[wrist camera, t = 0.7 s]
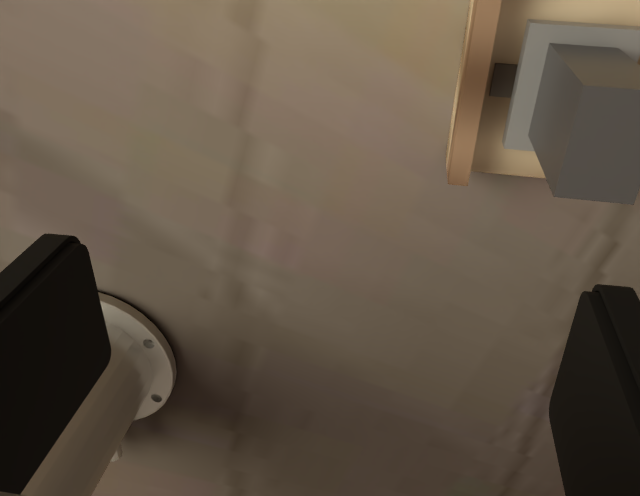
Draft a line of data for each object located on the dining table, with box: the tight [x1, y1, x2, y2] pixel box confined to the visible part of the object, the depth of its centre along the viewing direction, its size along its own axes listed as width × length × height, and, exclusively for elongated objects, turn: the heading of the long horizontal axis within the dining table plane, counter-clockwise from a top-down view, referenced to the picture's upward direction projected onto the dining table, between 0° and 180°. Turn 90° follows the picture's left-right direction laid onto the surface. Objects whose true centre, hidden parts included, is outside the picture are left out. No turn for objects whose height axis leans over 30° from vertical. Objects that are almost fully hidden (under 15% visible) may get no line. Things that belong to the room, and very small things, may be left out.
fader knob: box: [502, 19, 640, 205], centre depth 25 cm, size 6×5×8 cm
